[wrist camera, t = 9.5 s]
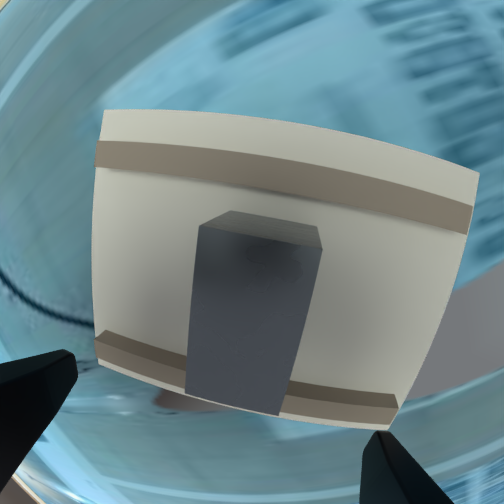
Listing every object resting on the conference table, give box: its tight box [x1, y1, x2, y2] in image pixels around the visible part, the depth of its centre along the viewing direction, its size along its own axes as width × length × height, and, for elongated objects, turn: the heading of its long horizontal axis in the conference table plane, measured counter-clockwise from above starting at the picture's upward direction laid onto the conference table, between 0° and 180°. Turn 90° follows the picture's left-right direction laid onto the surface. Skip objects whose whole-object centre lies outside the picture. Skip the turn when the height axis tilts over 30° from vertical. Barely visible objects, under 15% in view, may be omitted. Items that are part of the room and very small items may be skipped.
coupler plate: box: [92, 109, 480, 430], centre depth 17 cm, size 22×18×3 cm
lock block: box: [185, 210, 323, 416], centre depth 14 cm, size 4×8×5 cm, turn 171°
